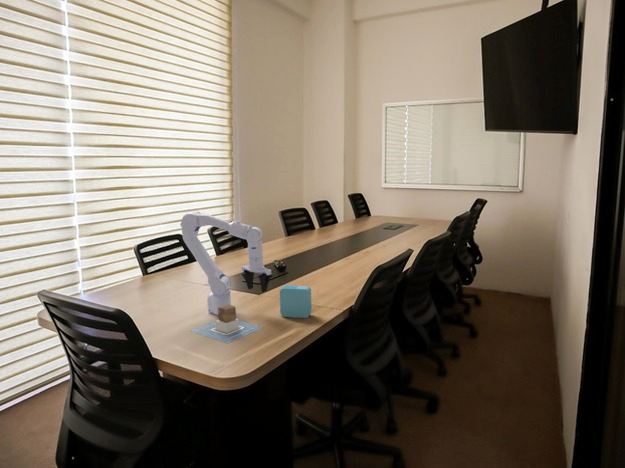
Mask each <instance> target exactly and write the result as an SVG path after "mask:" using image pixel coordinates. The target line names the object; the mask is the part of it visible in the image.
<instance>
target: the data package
mask: <svg viewBox="0 0 625 468" xmlns="http://www.w3.org/2000/svg"><path fill="white" fill-rule="evenodd" d="M279 309H280V311H279V314H280V316H282V317H283V318H294V319H295V318H297V319H298V318H299V319H307V318H309V317H310V315H311V314H312V288H311V287H310V286H306V285H284V286H282V288H280V290H279Z"/></svg>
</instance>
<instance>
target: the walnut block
mask: <svg viewBox="0 0 625 468" xmlns="http://www.w3.org/2000/svg"><path fill="white" fill-rule="evenodd" d="M236 313H237V312H236V306H234V305H232V304H231V305H229V304H227V305H223V306H220V307H218V315H217V316H218V320H220V321H222V322H225V323H227V322H230V321H234V320H236V319H237V315H236Z"/></svg>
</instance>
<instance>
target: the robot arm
mask: <svg viewBox="0 0 625 468" xmlns="http://www.w3.org/2000/svg"><path fill="white" fill-rule="evenodd" d="M204 226H211V227H215V228H218V229H222V230H224V231H227V233H228V234H229V235H230V236H234V237H237V238H240V239H242V240H246V241H247V255H248V265H242V266H241V272H242V273H241V276H242V278H243V279H244V280H245V283H246V285H247V288H248V289H247V290H252V289H253V288H254V275H255V274H260V275H258V276H257V277H258V279H259V283H260V288H261V293H266V292H267V291H268V290H267V289H268V286H269V285H268V284H269V282H270V280H271V277H272V269H269V268H268V267H265V266H264V257H263V256H264V255H263V253H264V252H263V243H262V237H263V231H262V229H261V228H260V227H258V226H252V225H251V224H245V223H242V222H241V220H233V221H231V222H229V221H227V220H224V219H221V218H219V217H216V216H214V215H210V214H209V213H205V212H200V211H196V210H195V211H193V212H191V213H186V214H184V215H183V217H182V219H181V222H180V227H181V231H182V234H181V235H182V239H183V242H184V243H185V245H186V247H187V248H188V250H189V251H190V252H191V254H192V255H193V257H194V258H195V260H196V262H197V263H198V264H199V266H200V267H201V269H202V270H203V272H204V273H205V275H206V277H207V283H208V284H209V287H210V291H211V292H210V293H209V294H208V296H207V301H206V302H207V312H206V315H207V314H210V313H211V314H213V315H215V316H218V307H220V306H223V305H227V304H229V305H232V300H231V299H232V298H231V297H232V296H231V290H230V287H231V286H232V280H231V278H230V277H229V276H228V275H226V274H225V273H224V272H223V271H222V270H221V269H220V268H218V266H217V264H216V263H215V262H214V260H213V259H212V257H211V256H210V254H209V252H208V251H207V249H206V248H205V246H204V245H203V243H202V242H201V240H200V239H199V237H198V235H199V231H200V228H201V227H204Z"/></svg>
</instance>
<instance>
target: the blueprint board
mask: <svg viewBox="0 0 625 468" xmlns="http://www.w3.org/2000/svg"><path fill="white" fill-rule="evenodd" d="M263 328H264V326H260V325H256V324H253V323H250V322H245V321H242V320H239V329H236V330H234V331H231V332H229V333H224V332H221V331H217V330H216V329H215V321H212V322H210V323H207V324H205V325H202V326H200V327H197V328H194V329H192V330H190V332H192V333H195V334H199V335H201V336H204V337H207V338H210V339H213V340H217V341H220V342H223V343H226V344H229V343H232V342H234V341H237V340H238V339H241V338H243V337H246V336H248V335H250V334H252V333H255V332H257V331H259V330H262V329H263Z"/></svg>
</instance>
